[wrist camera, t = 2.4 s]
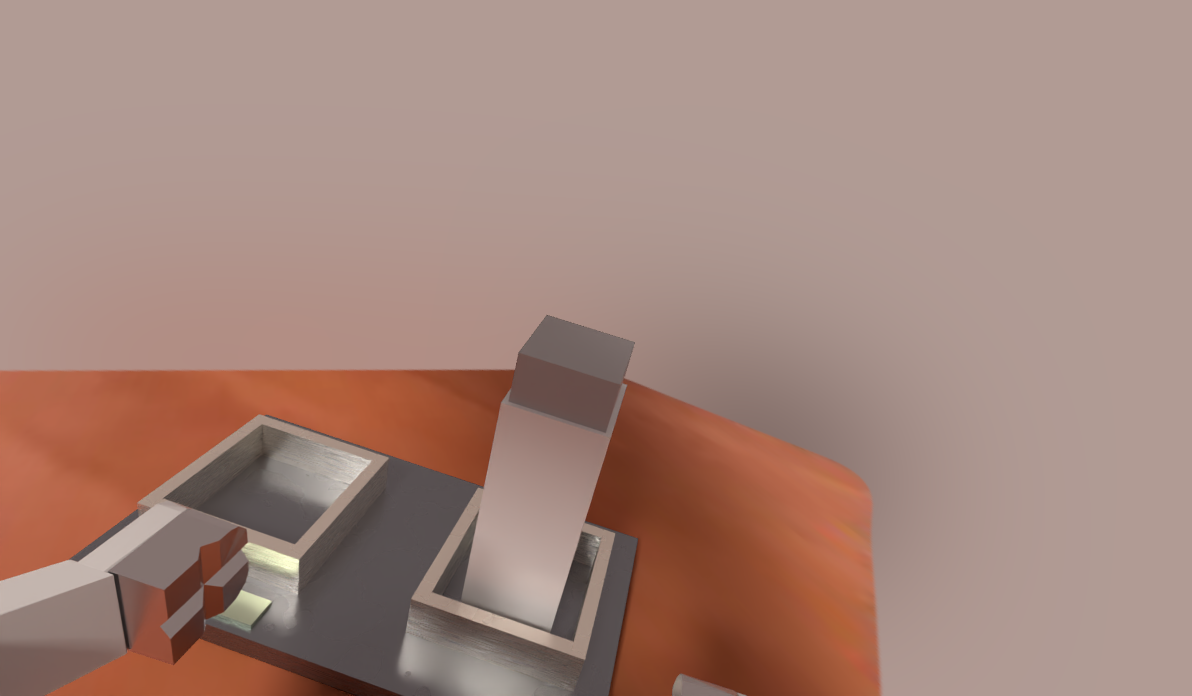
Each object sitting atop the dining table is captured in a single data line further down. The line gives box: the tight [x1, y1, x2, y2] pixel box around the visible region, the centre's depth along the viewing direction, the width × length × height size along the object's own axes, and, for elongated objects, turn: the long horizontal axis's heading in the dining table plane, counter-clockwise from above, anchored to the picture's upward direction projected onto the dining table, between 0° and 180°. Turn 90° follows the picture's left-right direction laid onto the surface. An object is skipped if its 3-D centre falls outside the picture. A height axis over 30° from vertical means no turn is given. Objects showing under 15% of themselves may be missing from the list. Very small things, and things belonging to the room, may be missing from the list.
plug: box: [461, 315, 635, 633], centre depth 25 cm, size 4×5×13 cm
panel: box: [69, 414, 638, 696], centre depth 28 cm, size 22×12×3 cm, turn 79°
